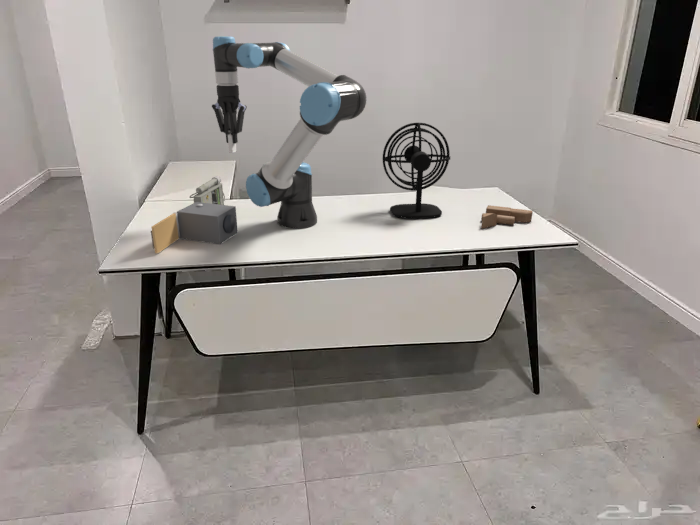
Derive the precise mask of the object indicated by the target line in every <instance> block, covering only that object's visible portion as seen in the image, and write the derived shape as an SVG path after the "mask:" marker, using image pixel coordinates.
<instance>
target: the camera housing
mask: <svg viewBox="0 0 700 525" xmlns="http://www.w3.org/2000/svg"><path fill="white" fill-rule="evenodd" d="M176 212H177V216H178V224H179V232H180V238H179V239H180V240H186V241H194V242H200V243H201V242H202V243H208V244H215V245H221V244H223V243H225V242H227V240H229V239H231V238H233V237H234V236H235V235H237V234H238V233H239V231H238V220H237V208H236V205H235V206H233V205H228V204H227V205H226V204H224V205H219V204H210V203H202V202H195V203H194V202H193V203H192V204H190V205H188V206H186V207H183V208H181V209H179V210H177V211H176Z"/></svg>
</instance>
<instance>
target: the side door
mask: <svg viewBox="0 0 700 525" xmlns="http://www.w3.org/2000/svg"><path fill="white" fill-rule="evenodd" d="M150 236H151V243H152V248H153V249H154V253H155V254H160V252H161V253H162V251H163V250H165V249H166V248H168V247H169V246H170V245H172V244H173V243H175V242H176V241H178V240H179V239H180V232H179V224H178V216H177V211H176V212H173V213H171V214H170V215H168V216H166V217H165V218H163V219H162V220H160V221H159V222H157V223H155V224H154V225H151V230H150Z"/></svg>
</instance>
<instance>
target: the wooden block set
mask: <svg viewBox="0 0 700 525" xmlns="http://www.w3.org/2000/svg"><path fill="white" fill-rule="evenodd" d="M532 219H533V210H529V209H523V208H522V209H520V208H513V207H510V206H509V207H508V206H497V205H490V204H489V205H487V206H486V208H485V212H483V213H481V220H480V221H481V226H480V229H487V228H492V227H496V226H497V224H500V225H507V226H515V222H516V223H523V224H526V223H531V222H532Z"/></svg>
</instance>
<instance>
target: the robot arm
mask: <svg viewBox="0 0 700 525" xmlns="http://www.w3.org/2000/svg"><path fill="white" fill-rule="evenodd" d="M212 53H213V63H214V71H215V72H214V74H215V84H217V85H216V95H217V100H216V103H214V104H211V108H212V110H213V111H214V114H215V118H216V119H217V120H216V121H217V124H218V128H219V131H220V132H221V133H224V134H225V142H226V143H227V145H228V152H229V154H234V153H236V152H237V144H238V143H239V142H238V141H239V140H238V134H239V133H242V132H243V126H244V125H243V124H244V118H245V112H246V110H247V105H246V104H242V102H241V100H240V90H239V86H240V85H238V83H239V77H238V76H239V75H238V68H245V69H256V68H257V69H258V68H262V67H270V68H271V67H272V68H274V69H275V70H277V71H280V72H281V73H282V74H283V73H284V74H285V75H287V76H288V77H291V78H292V79H293V80H296V81H297V82H300V83H301V84H303V85H305V86H307V88H306V89H304V91H303V92H302V94H301V96H300V99H299V103H300V105H299V117H300V118H299V120H298V121H297V123H296V124H295V126H294V127H293V128H292V130H291V132H290V134H289V135H288V136H287V138H286V139H285V140H284V142H283V144H282V145H281V146H280V147H279V150H278V151H277V152H276V154H275V155H274V157H273V158H272V160H270V161H269V160H268V161H266V162H265V163H264V164H262V166H261V168H260V169H259V171H258V172H256V173H252V174H249V175H248V176H247V178H246V180H245V189H246V193H247V196H248V197H249V199H250V201H251V202H252V203H253V204H254V205H255V206H256V207H260V208H262V207H269V206H271V205H273V204H277V203H280V206H279V208H278V214H277V218H276V220H277V225H279V226H280V227H282V228H286V229H304V228H310V227H312V226H315V225H316V224H317V223H318V215H317V212H316V210H315V207H314V204H313V181H312V180H313V178H312V177H313V174H312V166H311V165H310V164H309V163H307V162H305V160H306V159H307V157H308V156H309V154H310V153H311V151H313V149H314V148H315V146H316V145H317V144H318V142H319V141H320V140H321V139H322V137H324V136H328V135H330V134H331V133H332V132H333V131H334V129H335V128H336V127H337V126H338V124H339V123H340V122H344V121H348V120H352V119H355V118H357V117H358V116H360V115H361V114H362V113H363V112H364V110H365V108H366V105H367V93H366V90H365V89H364V87H363V85H362V84H361V83H360V82H358V81H357V80H355V79H353V78H351V77H349V76H348V75H346V74H342V73H341V74H339V75H338V74H336V73H334V72H333V71H330V70H328V69H326V68H324V67H322V66H321V65H319V64H317V63H314V62H313V61H310V60H309V59H307V58H305V57H302V56H301V55H300V54H299V55H298V54H297V53H295V52H293V51H291V49H290V47H289V46H288V45H287V44H286V43H284V42H278V41H275V42H250V43H249V42H246V43H244V42H241V43H239V42H236V39H235V37H234V36H214V37H213V38H212ZM237 110H238V111H237Z"/></svg>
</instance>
